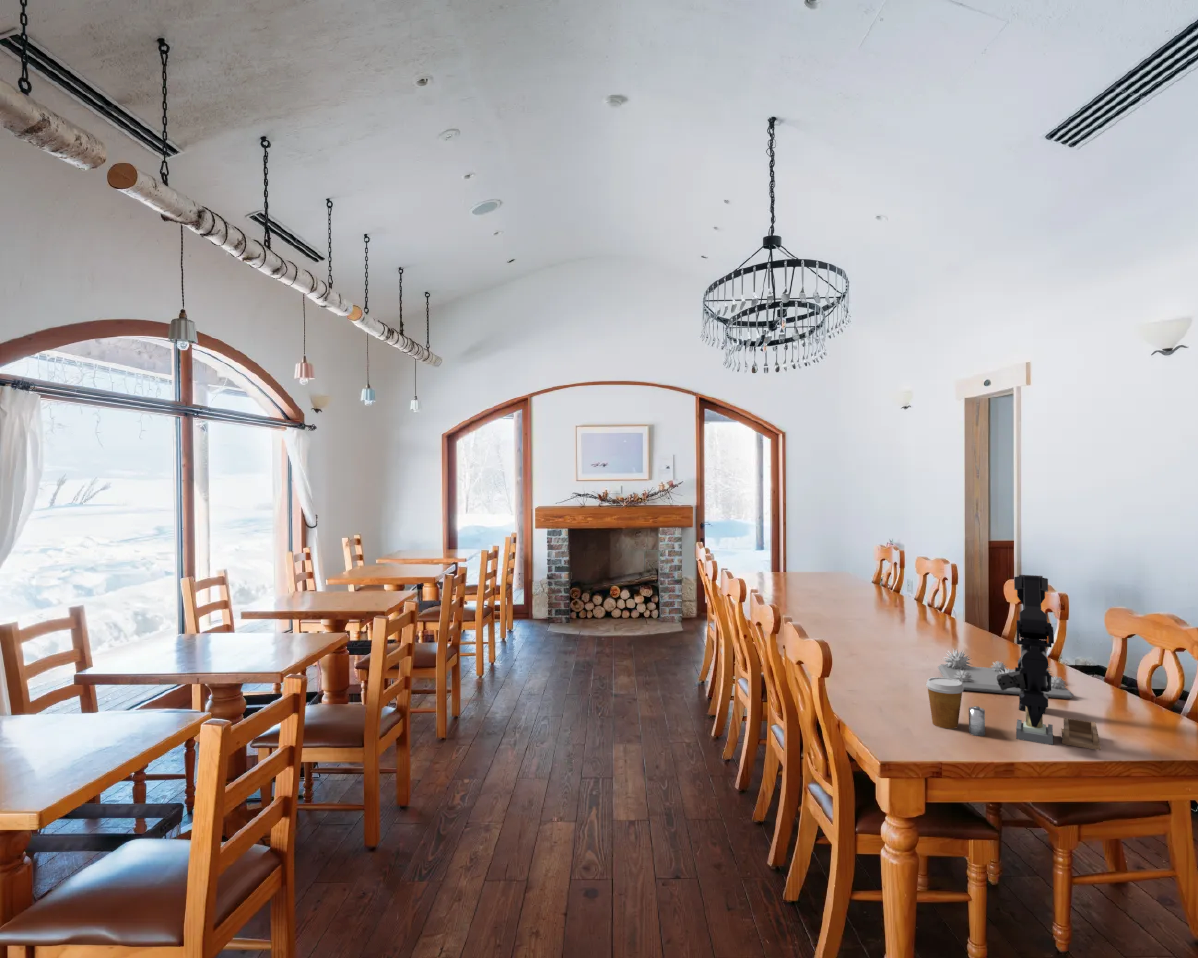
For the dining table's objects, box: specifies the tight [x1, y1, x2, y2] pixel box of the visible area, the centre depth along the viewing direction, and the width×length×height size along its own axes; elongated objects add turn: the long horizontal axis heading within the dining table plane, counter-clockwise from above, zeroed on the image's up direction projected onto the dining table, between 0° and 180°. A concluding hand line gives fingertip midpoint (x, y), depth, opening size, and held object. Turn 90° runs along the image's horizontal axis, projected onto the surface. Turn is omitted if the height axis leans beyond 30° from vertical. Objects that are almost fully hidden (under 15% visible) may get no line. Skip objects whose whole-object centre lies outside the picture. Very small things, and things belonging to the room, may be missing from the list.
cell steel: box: [968, 705, 986, 737], centre depth 185 cm, size 4×4×7 cm
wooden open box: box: [1061, 717, 1102, 751], centre depth 180 cm, size 10×8×4 cm
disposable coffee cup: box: [925, 676, 965, 730], centre depth 192 cm, size 10×10×12 cm
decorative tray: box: [937, 648, 1075, 700], centre depth 230 cm, size 35×26×10 cm
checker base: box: [1015, 718, 1054, 746], centre depth 182 cm, size 8×8×3 cm
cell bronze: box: [1025, 707, 1044, 728], centre depth 183 cm, size 4×4×7 cm
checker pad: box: [1022, 720, 1047, 734], centre depth 182 cm, size 5×5×1 cm
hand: (1034, 724), depth 182 cm, fingers closed on cell bronze, 4 cm apart
